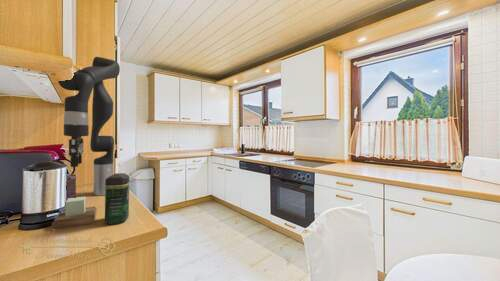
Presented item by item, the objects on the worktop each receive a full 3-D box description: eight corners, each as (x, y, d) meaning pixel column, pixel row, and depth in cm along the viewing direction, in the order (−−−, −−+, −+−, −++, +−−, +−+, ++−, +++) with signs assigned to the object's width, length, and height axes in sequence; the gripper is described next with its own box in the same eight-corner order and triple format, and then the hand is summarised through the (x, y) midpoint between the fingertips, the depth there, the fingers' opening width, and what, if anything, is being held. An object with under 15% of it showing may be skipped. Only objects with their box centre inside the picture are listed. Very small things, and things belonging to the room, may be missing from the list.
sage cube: (68, 212, 83) (68, 198, 82) (85, 209, 86) (85, 196, 85) (65, 216, 78) (65, 202, 78) (83, 214, 81) (83, 200, 81)
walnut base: (59, 218, 84) (59, 211, 84) (96, 212, 90) (96, 206, 90) (51, 230, 74) (51, 221, 73) (94, 222, 80) (94, 215, 80)
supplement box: (76, 208, 95) (76, 173, 95) (66, 212, 90) (66, 175, 90) (59, 207, 96) (59, 173, 96) (48, 211, 91) (48, 175, 91)
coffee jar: (126, 223, 80) (127, 175, 80) (102, 226, 77) (102, 176, 77) (130, 214, 89) (131, 171, 89) (108, 216, 86) (109, 172, 86)
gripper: (67, 124, 85) (67, 163, 85) (59, 122, 73) (59, 168, 73) (90, 124, 89) (90, 162, 89) (86, 123, 77) (86, 167, 77)
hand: (76, 165), depth 81 cm, fingers open, 8 cm apart
